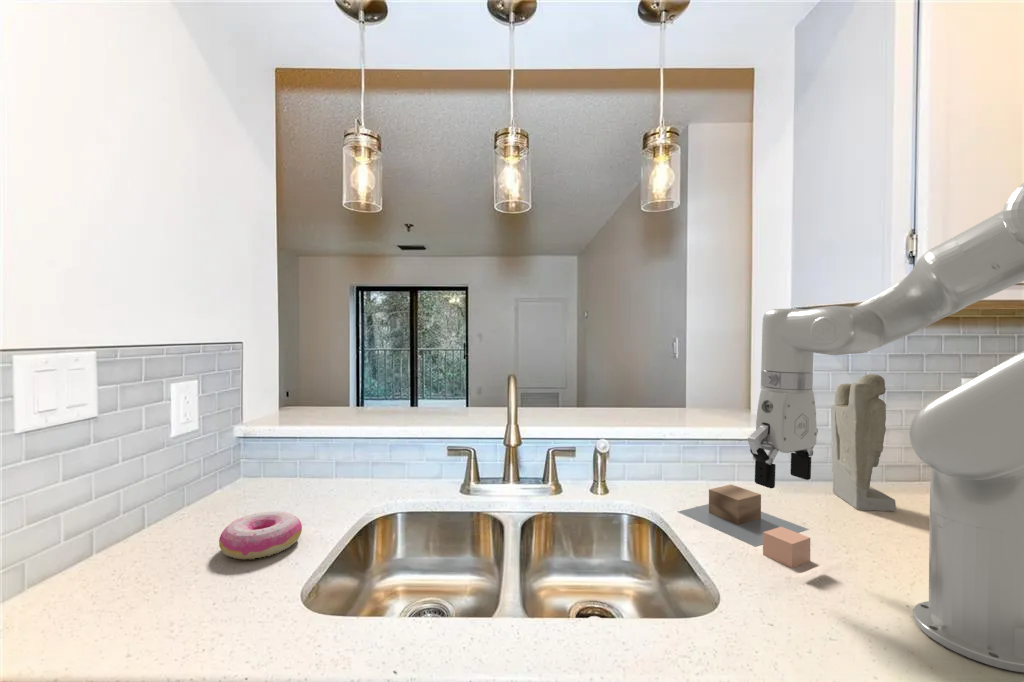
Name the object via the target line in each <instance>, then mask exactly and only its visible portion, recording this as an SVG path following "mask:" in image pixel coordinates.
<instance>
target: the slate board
mask: <svg viewBox="0 0 1024 682" xmlns="http://www.w3.org/2000/svg"><path fill="white" fill-rule="evenodd" d="M677 513H678V514H681V515H683V516H686V517H688V518H690V519H692V520H694V521H696V522H699V523H701V524H703V525H705V526H708V527H710V528H712V529H715V530H717V531H719V532H721V533H724V534H726V535H728V536H730V537H733V539H737V540H739V541H741V542H744V543H746V544H748V545H750V546H752V547H755V548H756V547H759V546H763V532H765V531H768V530H772V529H775V528H778V527H784V528H786V529H789V530H791V531H794V532H797V533H799V534H800V533H802V532H805V531H808V530H809V528H808V527H804V526H802V525H798V524H796V523H793V522H791V521H788V520H785V519H782V518H781V517H778V516H775V515H771V514H769V513H767V512H763V511H761V519H758V520H754V521H751V522H747V523H744V524H740V525H737V524H735V523H732V522H730V521H727V520H725V519H723V518H720V517H718V516H715V515H713V514H711V513H709V503H707V504H704V505H700V506H695V507H690V508H687V509H686V508H685V509H684V510H683V509H682V510H678V511H677Z"/></svg>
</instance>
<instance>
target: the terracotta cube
mask: <svg viewBox="0 0 1024 682" xmlns="http://www.w3.org/2000/svg"><path fill="white" fill-rule="evenodd" d="M762 555H763V556H765V557H767V558H769V559H772V560H774V561H776V562H778V563H780V564H781V565H784V566H786V567H789V568H791V569H794V568H796V567H798V566H800V565H803V564H807V563H809V562H811V537H810V536H808V535H804V534H801V533H800V532H799V533H797V532H794V531H791V530H789V529H786V528H784V527H778V528H775V529H772V530H768V531H765V532H763V544H762Z"/></svg>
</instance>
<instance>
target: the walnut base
mask: <svg viewBox="0 0 1024 682" xmlns="http://www.w3.org/2000/svg"><path fill="white" fill-rule="evenodd" d="M708 504H709V513H711V514H713V515H715V516H718V517H720V518H723V519H725V520H727V521H730V522H732V523H735V524H737V525H740V524H744V523H747V522H751V521H754V520H758V519H761V512H762V494H761V493H758V492H755V491H752V490H749V489H746V488H743V487H740V486H737V485H734V484H728V485H723V486H718V487H713V488H709V489H708Z"/></svg>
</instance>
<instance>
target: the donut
mask: <svg viewBox="0 0 1024 682" xmlns="http://www.w3.org/2000/svg"><path fill="white" fill-rule="evenodd" d="M302 525H303V524H302V521H301V520H300V519H299V518H298V516H296V515H295V514H292V513H290V512H287V511H286V512H285V511H264V512H263V511H262V512H258V513H256V512H255V513H252V514H250V515H249V514H248V515H245V516H242V517H240V518H237V519H236V520H233V521H232V522H231V523H230V524H228V526H226V527H225V528H224V529H223V530H222V531H221V534H220V536H219V539H218V546H219V549H220V550H221V551H222V553H223V555H226V556H228V557H231V558H232V557H233V559H236V558H238V559H237V560H246V559H249V560H256V559H255V558H259V559H261V558H260V557H264V558H266V557H265V556H268V557H271V556H270V555H272V556H274V555H273V554H275V555H277V554H279V553H278V552H280V553H281V551H282V552H283V550H284V551H286V550H287V549H289V548H290V547H292V546H293V545H294V544H295V543H296V542H297V541H298V540H299V538H300V537H301V534H302V532H303V526H302ZM291 545H292V546H291ZM285 549H286V550H285ZM276 553H277V554H276Z"/></svg>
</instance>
